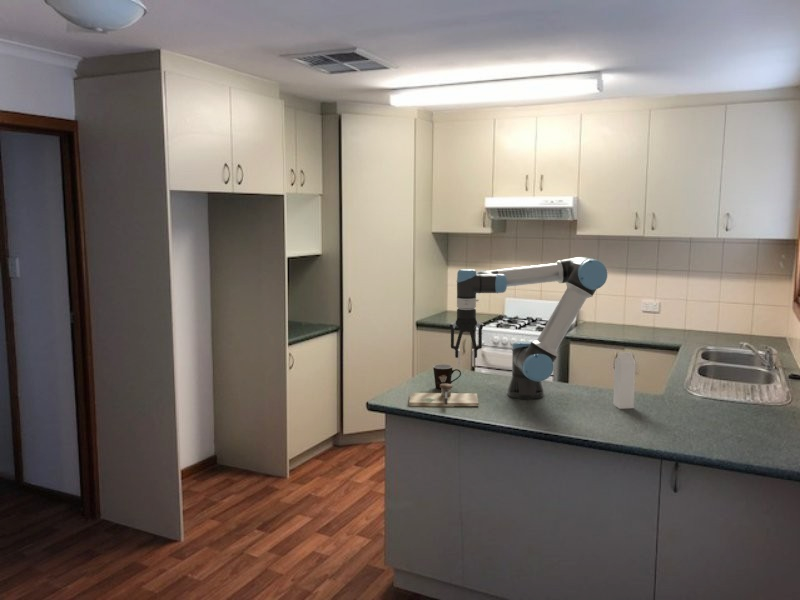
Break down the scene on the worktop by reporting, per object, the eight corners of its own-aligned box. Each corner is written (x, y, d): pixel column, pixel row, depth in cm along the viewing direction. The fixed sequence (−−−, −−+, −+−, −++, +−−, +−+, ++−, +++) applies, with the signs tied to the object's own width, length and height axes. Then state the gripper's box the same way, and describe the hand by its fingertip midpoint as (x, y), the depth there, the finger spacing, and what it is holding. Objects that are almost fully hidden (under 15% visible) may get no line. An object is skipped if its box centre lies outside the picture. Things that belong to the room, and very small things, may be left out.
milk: (633, 408, 258) (636, 354, 255) (619, 409, 258) (621, 354, 255) (627, 403, 264) (629, 350, 261) (612, 404, 264) (615, 351, 261)
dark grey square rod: (452, 393, 275) (452, 383, 274) (452, 405, 259) (452, 394, 258) (439, 393, 275) (439, 383, 275) (439, 404, 259) (439, 394, 258)
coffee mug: (430, 389, 288) (429, 367, 286) (438, 385, 295) (438, 363, 294) (454, 393, 282) (454, 370, 281) (461, 388, 290) (461, 366, 288)
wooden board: (476, 396, 276) (476, 393, 276) (478, 406, 262) (478, 402, 262) (410, 396, 278) (410, 392, 278) (409, 405, 264) (409, 402, 264)
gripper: (443, 309, 255) (443, 367, 258) (489, 309, 254) (489, 368, 257) (443, 306, 262) (443, 363, 266) (488, 307, 261) (487, 363, 264)
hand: (466, 365), depth 261 cm, fingers open, 5 cm apart
